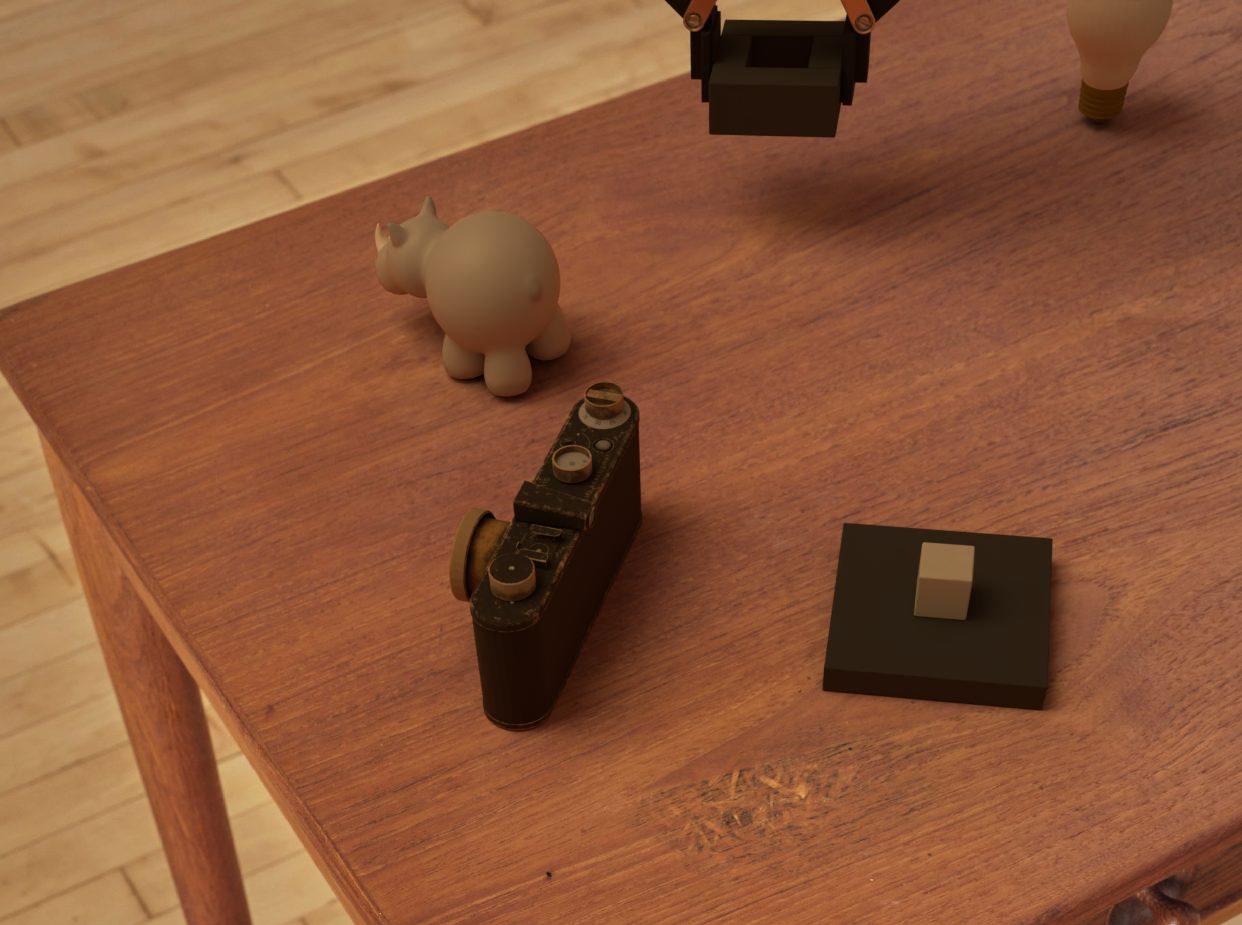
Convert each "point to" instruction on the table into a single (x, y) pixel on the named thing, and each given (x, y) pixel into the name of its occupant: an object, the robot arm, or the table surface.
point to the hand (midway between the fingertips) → (779, 89)
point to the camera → (551, 558)
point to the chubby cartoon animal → (480, 291)
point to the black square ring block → (777, 79)
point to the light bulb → (1112, 48)
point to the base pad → (941, 616)
